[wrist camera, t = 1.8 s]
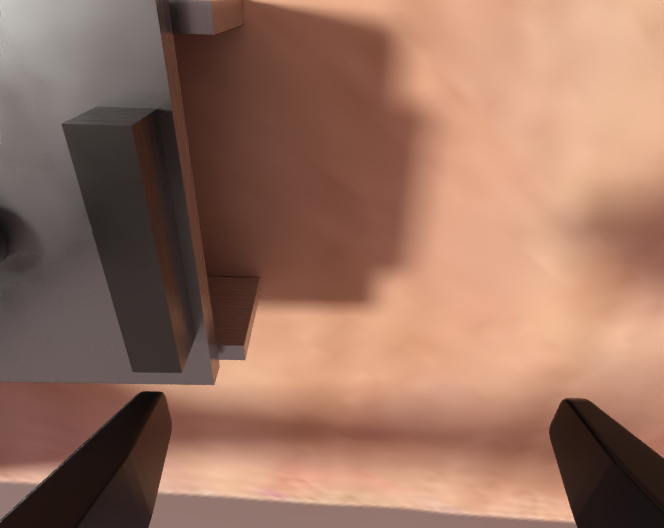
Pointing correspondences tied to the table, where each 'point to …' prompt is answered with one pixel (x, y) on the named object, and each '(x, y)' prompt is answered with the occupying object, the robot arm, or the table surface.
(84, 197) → the lid
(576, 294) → the table surface
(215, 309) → the grey rectangular box
